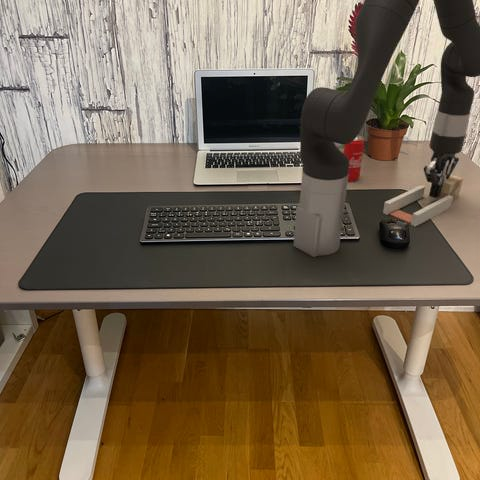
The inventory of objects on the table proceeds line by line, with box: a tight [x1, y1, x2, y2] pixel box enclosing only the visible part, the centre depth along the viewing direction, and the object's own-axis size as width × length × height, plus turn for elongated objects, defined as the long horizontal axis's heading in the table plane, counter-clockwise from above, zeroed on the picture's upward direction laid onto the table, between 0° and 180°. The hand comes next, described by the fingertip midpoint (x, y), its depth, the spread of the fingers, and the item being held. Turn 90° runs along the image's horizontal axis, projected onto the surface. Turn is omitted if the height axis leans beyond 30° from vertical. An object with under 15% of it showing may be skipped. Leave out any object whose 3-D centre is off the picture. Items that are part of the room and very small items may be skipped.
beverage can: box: [342, 134, 365, 182], centre depth 137 cm, size 5×5×12 cm
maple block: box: [429, 174, 464, 201], centre depth 129 cm, size 6×5×5 cm
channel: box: [382, 185, 454, 227], centre depth 122 cm, size 16×9×3 cm, turn 131°
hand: (434, 196), depth 126 cm, fingers closed
